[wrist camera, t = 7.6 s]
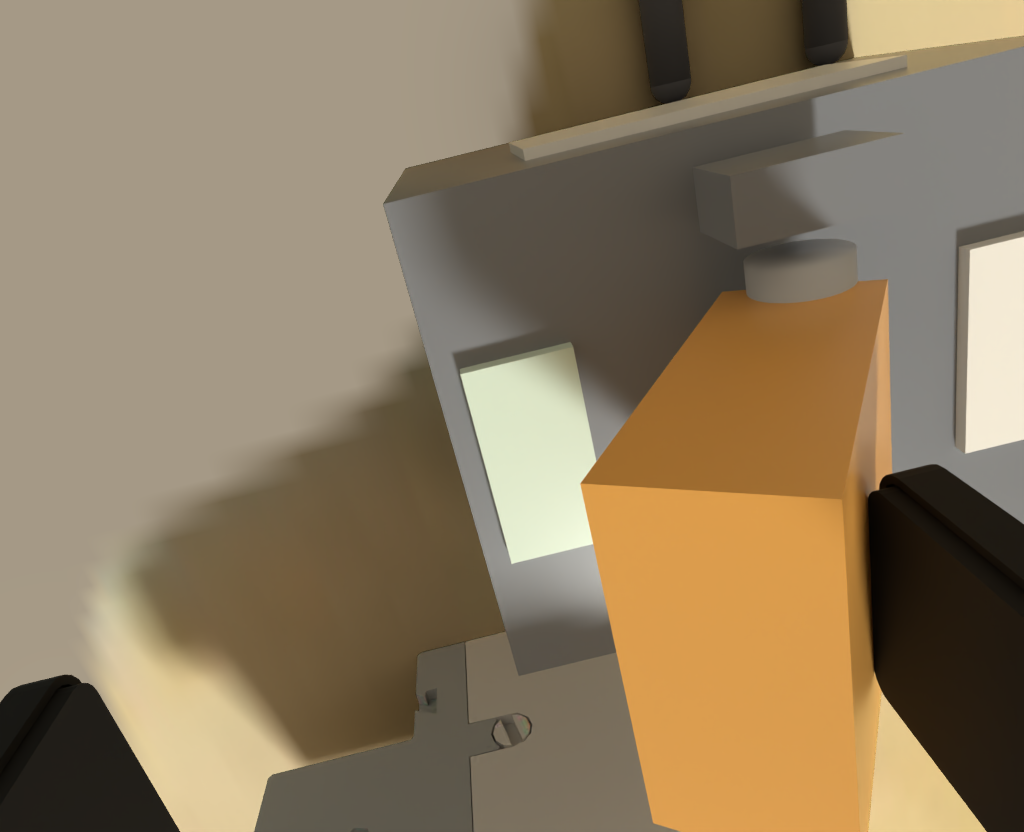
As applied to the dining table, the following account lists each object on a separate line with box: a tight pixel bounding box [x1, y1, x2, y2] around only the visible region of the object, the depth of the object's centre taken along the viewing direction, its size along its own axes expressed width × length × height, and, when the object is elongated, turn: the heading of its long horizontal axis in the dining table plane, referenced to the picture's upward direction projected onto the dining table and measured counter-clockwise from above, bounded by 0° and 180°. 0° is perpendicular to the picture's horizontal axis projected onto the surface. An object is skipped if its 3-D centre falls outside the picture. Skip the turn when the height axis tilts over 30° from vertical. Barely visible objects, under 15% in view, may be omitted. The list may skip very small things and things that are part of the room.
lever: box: [580, 239, 892, 832], centre depth 10 cm, size 2×6×7 cm
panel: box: [383, 36, 1024, 676], centre depth 16 cm, size 12×10×10 cm
